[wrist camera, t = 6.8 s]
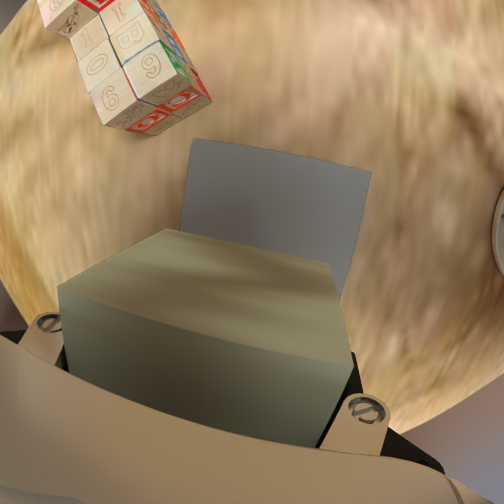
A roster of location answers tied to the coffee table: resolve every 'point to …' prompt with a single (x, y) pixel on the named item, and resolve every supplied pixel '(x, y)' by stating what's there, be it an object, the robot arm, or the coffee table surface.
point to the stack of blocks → (129, 61)
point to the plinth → (275, 202)
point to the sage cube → (212, 334)
